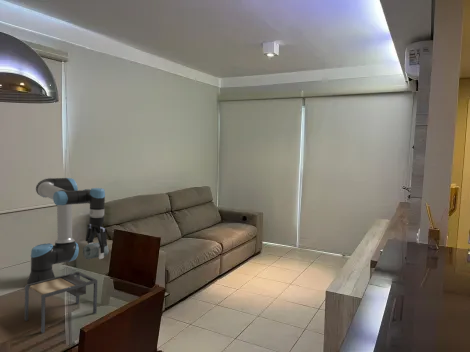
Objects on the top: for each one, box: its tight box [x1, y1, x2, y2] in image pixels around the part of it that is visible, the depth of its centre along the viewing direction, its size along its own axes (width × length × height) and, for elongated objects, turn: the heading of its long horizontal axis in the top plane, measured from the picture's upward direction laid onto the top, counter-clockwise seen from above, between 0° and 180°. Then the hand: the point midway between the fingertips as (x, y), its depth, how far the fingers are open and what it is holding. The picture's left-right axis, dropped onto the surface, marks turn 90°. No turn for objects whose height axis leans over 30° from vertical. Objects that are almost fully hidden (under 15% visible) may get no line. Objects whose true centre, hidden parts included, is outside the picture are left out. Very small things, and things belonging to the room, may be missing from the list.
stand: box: [24, 271, 98, 334], centre depth 176 cm, size 27×18×18 cm, turn 143°
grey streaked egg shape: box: [82, 242, 109, 260], centre depth 194 cm, size 14×10×10 cm
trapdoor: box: [29, 275, 87, 297], centre depth 174 cm, size 21×14×6 cm
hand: (95, 256), depth 194 cm, fingers closed on grey streaked egg shape, 9 cm apart
